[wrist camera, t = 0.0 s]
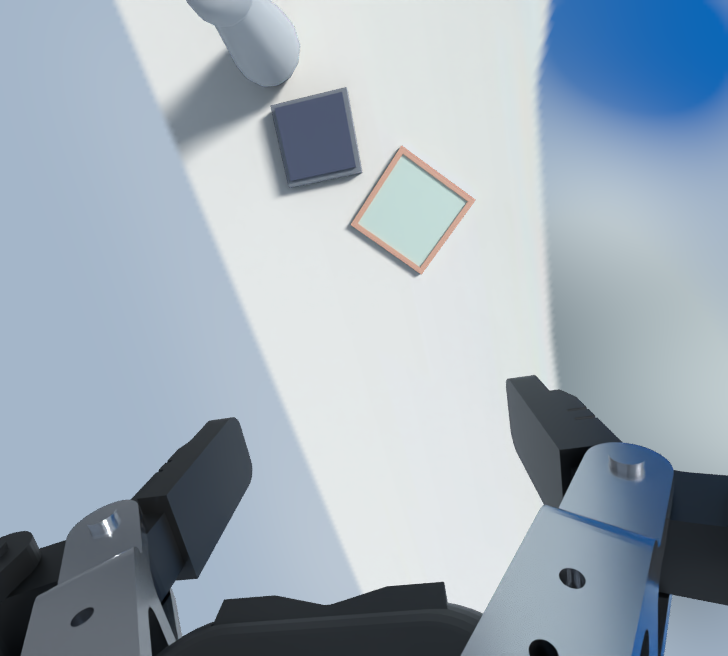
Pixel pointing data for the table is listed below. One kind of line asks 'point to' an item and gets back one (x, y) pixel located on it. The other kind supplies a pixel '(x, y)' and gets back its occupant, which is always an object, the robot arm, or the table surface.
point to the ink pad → (317, 137)
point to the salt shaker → (254, 37)
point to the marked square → (412, 210)
